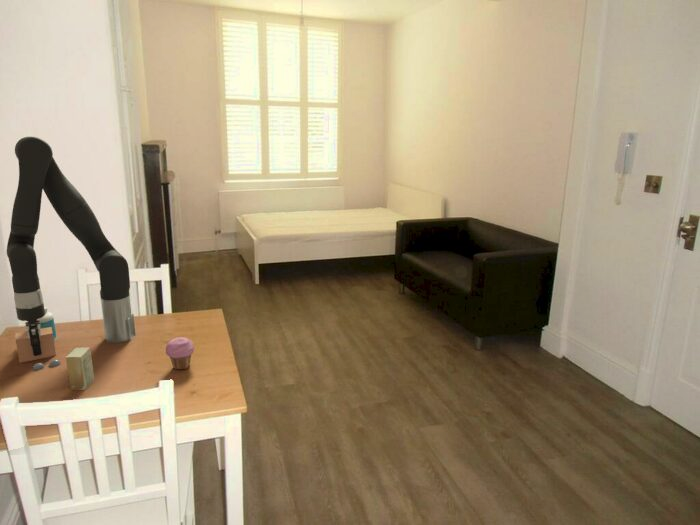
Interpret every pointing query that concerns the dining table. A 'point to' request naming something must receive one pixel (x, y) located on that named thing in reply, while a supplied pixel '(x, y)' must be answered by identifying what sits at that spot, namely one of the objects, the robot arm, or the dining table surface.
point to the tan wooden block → (26, 349)
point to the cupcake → (180, 352)
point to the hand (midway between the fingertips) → (37, 350)
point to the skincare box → (80, 368)
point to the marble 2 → (54, 363)
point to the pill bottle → (48, 322)
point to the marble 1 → (38, 366)
